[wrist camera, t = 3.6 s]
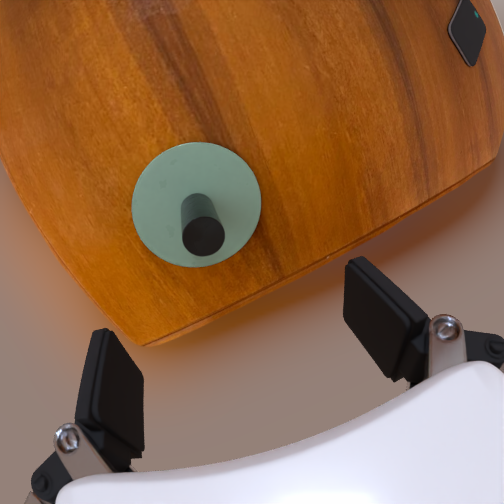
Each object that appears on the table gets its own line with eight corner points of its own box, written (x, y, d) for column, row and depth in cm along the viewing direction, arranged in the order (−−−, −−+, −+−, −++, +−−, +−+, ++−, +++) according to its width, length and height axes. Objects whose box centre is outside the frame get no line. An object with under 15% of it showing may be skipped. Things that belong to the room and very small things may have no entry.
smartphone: (487, 28, 18) (473, 70, 22) (483, 28, 19) (469, 70, 22) (465, -6, 14) (449, 30, 18) (462, -6, 15) (445, 30, 19)
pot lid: (156, 274, 25) (153, 323, 19) (118, 163, 20) (93, 180, 14) (266, 244, 27) (293, 282, 21) (246, 129, 21) (274, 132, 15)
